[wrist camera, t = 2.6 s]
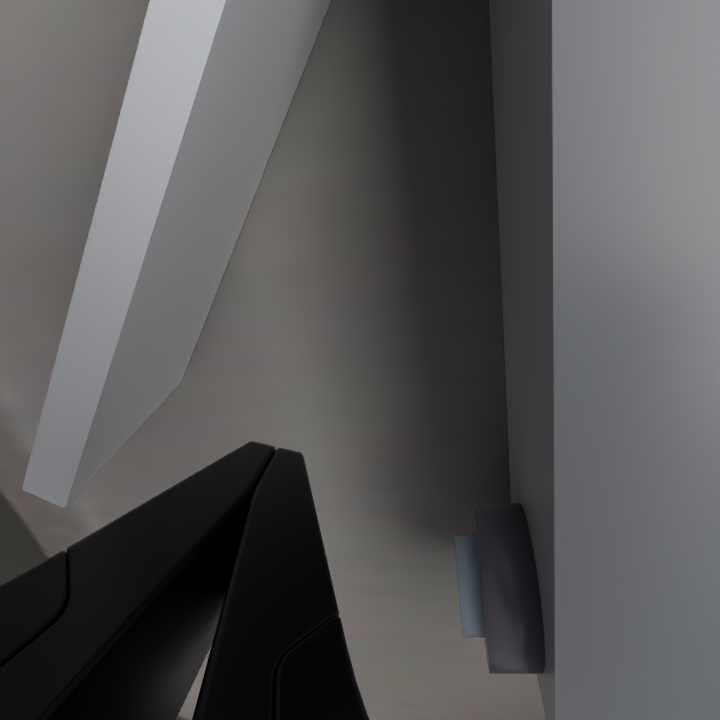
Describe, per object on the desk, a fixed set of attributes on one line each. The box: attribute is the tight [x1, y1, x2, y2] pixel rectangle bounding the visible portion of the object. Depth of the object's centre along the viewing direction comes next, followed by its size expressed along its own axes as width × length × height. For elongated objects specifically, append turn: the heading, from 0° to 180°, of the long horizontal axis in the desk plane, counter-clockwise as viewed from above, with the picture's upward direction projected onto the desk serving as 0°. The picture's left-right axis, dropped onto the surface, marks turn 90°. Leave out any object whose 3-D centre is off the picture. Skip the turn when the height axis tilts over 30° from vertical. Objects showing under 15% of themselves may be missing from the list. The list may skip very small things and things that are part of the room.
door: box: [22, 0, 331, 509], centre depth 9 cm, size 14×1×5 cm, turn 153°
